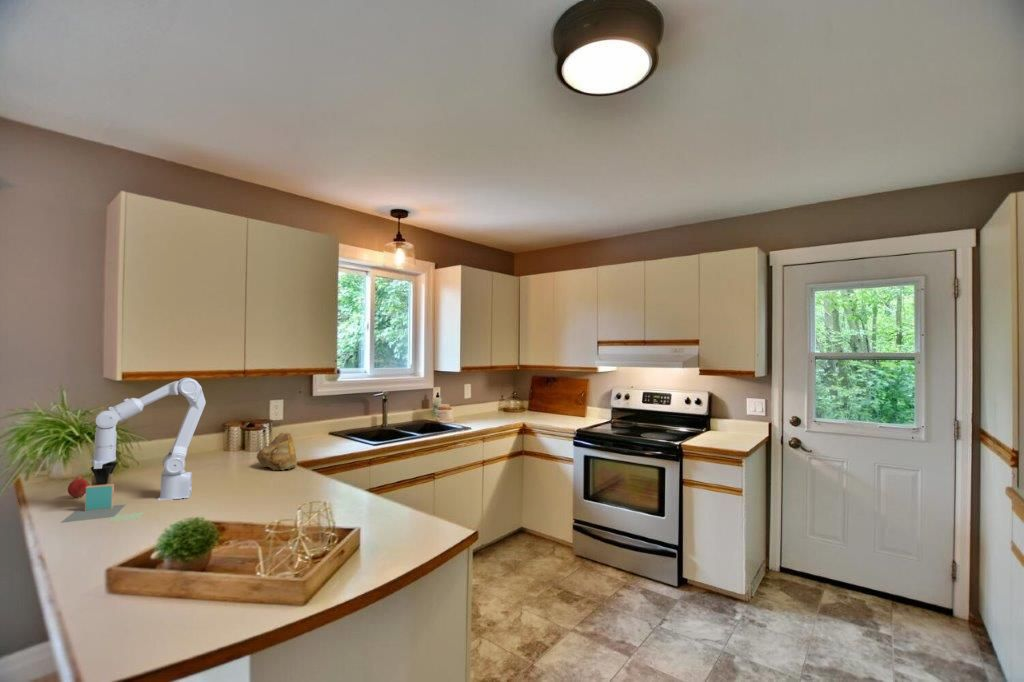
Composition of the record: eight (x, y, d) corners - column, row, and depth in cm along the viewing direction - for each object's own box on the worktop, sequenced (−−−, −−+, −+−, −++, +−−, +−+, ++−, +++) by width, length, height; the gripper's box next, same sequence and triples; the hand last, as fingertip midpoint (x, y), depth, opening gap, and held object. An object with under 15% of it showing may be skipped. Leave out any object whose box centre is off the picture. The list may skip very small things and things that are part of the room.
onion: (63, 501, 168) (64, 478, 168) (73, 496, 173) (74, 474, 173) (82, 500, 169) (84, 477, 169) (92, 495, 175) (93, 473, 175)
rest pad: (144, 513, 157) (144, 511, 157) (139, 519, 150) (139, 518, 150) (113, 516, 153) (113, 515, 153) (107, 523, 147) (107, 521, 147)
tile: (113, 507, 161) (114, 483, 161) (111, 508, 159) (112, 484, 159) (86, 510, 158) (87, 485, 158) (84, 511, 156) (85, 487, 156)
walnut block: (112, 493, 164) (113, 473, 164) (110, 495, 162) (110, 475, 162) (93, 495, 162) (94, 474, 162) (91, 497, 159) (92, 476, 160)
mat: (125, 505, 164) (125, 504, 164) (113, 518, 152) (113, 516, 152) (77, 510, 158) (77, 509, 158) (60, 523, 146) (60, 522, 146)
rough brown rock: (257, 465, 230) (255, 434, 230) (294, 459, 238) (293, 430, 238) (257, 477, 210) (255, 444, 209) (298, 471, 218) (296, 438, 217)
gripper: (97, 443, 167) (95, 481, 167) (82, 450, 154) (80, 492, 154) (122, 441, 170) (120, 479, 170) (110, 448, 157) (108, 490, 157)
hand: (103, 485), depth 162 cm, fingers closed on walnut block, 3 cm apart
